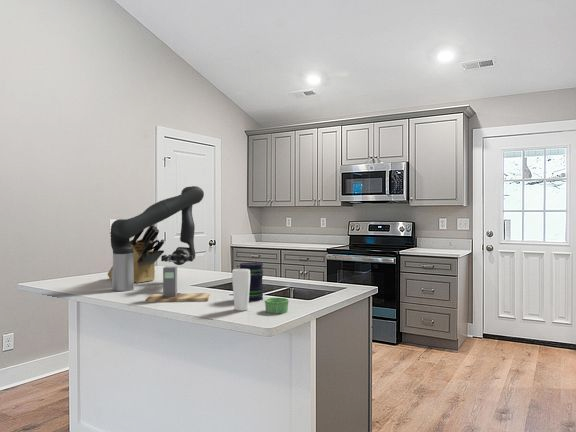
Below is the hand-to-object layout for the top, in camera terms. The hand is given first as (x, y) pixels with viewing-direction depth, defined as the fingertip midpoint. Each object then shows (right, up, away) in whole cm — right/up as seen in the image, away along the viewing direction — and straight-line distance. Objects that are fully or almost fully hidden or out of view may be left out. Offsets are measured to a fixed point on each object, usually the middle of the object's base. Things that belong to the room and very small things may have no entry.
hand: (175, 259), depth 208 cm
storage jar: (+36, -15, -16) cm, 42 cm away
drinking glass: (+34, -16, -36) cm, 52 cm away
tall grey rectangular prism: (+2, -14, -15) cm, 21 cm away
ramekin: (+47, -16, -39) cm, 63 cm away
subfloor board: (+5, -15, -15) cm, 22 cm away
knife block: (-30, -15, +36) cm, 49 cm away
